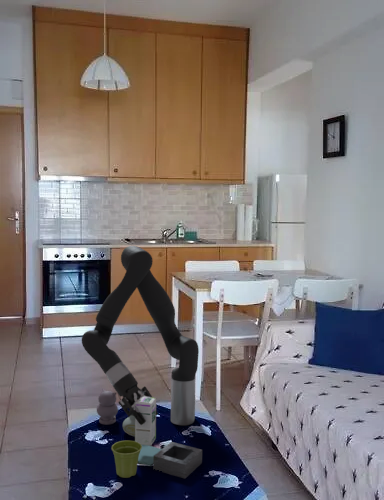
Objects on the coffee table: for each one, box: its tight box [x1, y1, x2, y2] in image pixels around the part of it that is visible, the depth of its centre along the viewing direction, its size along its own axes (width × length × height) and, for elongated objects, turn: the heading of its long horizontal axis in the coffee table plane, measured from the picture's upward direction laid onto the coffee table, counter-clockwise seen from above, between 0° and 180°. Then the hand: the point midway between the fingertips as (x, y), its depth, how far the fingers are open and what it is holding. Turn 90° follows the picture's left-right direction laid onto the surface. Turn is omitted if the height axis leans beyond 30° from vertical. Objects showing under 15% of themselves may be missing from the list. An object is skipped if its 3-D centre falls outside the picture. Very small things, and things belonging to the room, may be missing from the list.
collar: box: [152, 441, 203, 480], centre depth 175 cm, size 12×12×4 cm
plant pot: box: [111, 440, 142, 479], centre depth 169 cm, size 9×9×9 cm
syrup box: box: [134, 396, 157, 446], centre depth 180 cm, size 6×6×14 cm
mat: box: [138, 445, 163, 467], centre depth 182 cm, size 11×11×1 cm
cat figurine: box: [96, 388, 119, 426], centre depth 208 cm, size 8×8×12 cm
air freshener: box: [122, 409, 135, 438], centre depth 198 cm, size 11×8×10 cm
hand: (149, 419), depth 180 cm, fingers closed on syrup box, 7 cm apart
